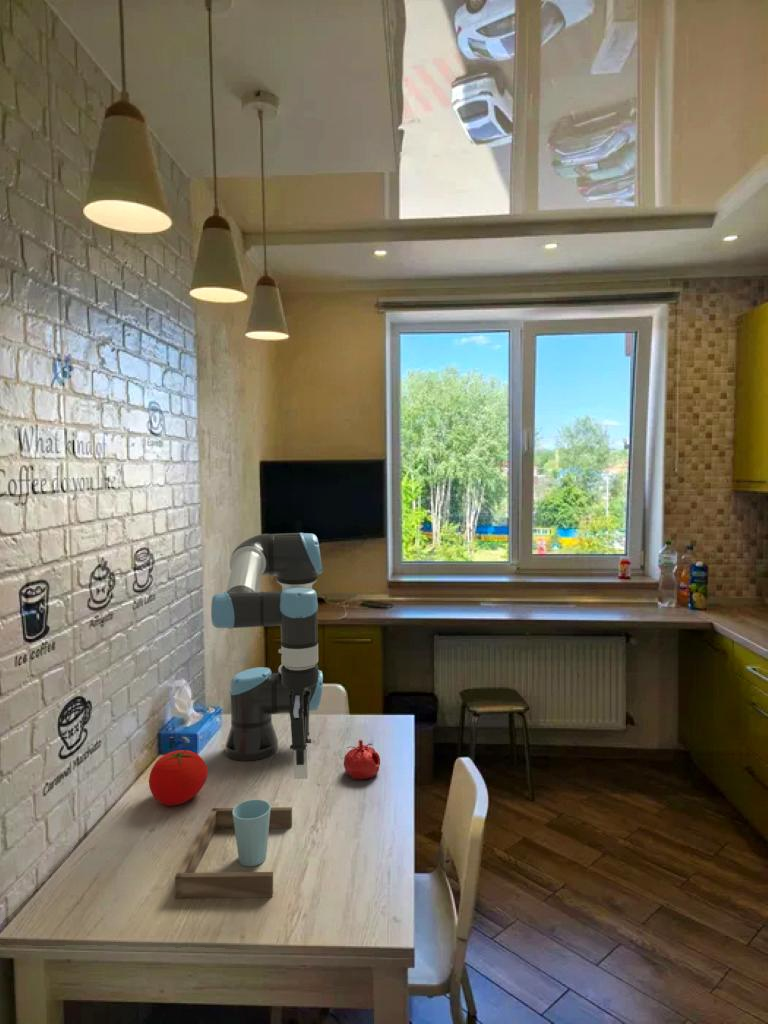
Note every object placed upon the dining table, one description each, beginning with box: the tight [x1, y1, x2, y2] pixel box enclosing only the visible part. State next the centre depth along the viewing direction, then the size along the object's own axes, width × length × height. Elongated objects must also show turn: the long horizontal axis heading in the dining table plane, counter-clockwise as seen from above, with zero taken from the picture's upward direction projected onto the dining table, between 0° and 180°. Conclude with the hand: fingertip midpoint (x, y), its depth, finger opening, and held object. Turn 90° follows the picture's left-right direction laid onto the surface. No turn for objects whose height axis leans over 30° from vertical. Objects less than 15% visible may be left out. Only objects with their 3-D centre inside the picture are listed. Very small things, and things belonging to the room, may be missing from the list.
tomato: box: [148, 749, 209, 807], centre depth 145 cm, size 13×14×12 cm
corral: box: [174, 806, 293, 899], centre depth 122 cm, size 24×18×4 cm
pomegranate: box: [343, 739, 381, 781], centre depth 157 cm, size 10×10×9 cm
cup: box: [232, 798, 272, 867], centre depth 121 cm, size 8×8×10 cm
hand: (301, 776), depth 122 cm, fingers closed
